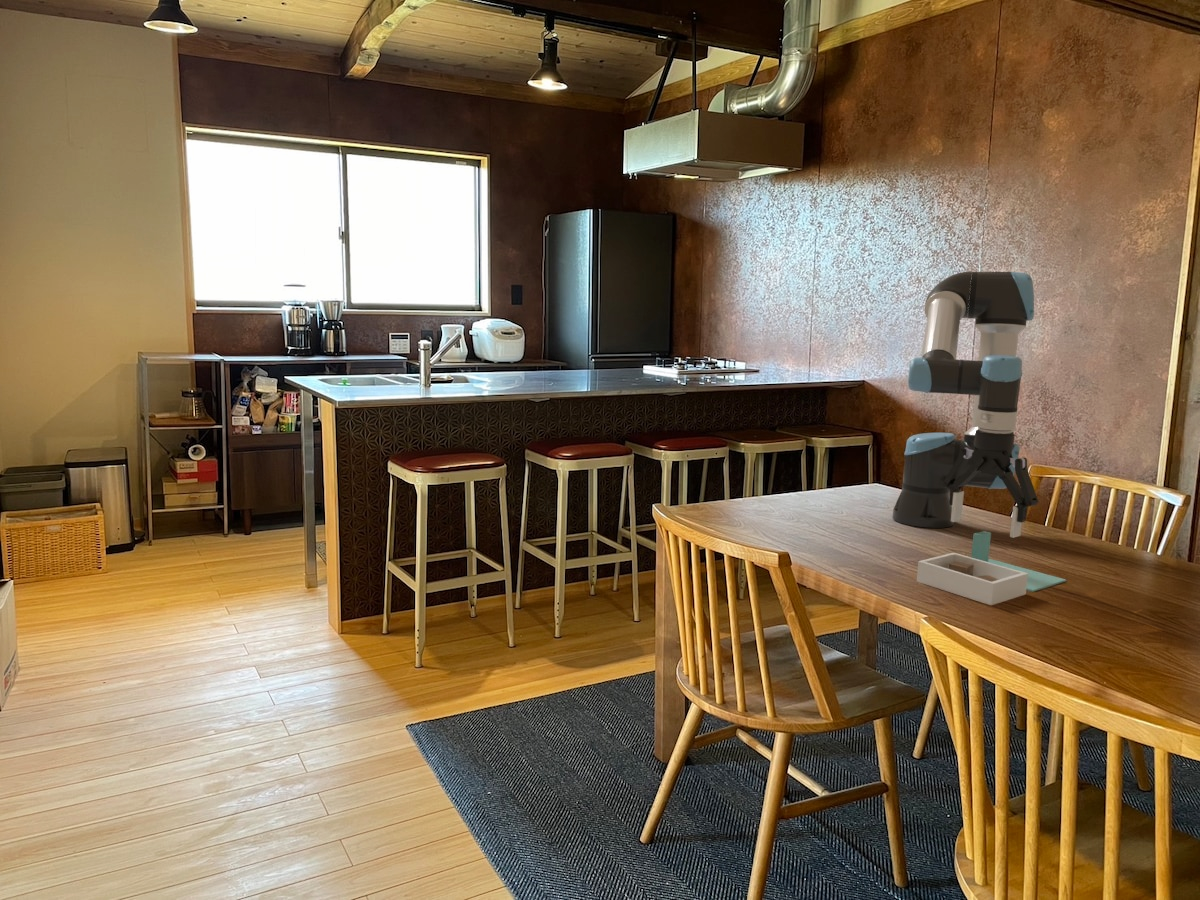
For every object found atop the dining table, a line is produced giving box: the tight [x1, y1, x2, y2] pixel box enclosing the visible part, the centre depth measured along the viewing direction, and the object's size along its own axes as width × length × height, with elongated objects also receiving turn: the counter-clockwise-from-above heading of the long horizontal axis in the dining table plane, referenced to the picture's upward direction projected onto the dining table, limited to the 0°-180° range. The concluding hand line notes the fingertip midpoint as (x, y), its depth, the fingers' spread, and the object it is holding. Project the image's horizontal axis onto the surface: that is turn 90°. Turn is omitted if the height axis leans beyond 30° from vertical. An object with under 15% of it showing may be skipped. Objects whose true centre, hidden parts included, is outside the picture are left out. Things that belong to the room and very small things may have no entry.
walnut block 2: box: [974, 575, 999, 582], centre depth 165 cm, size 4×4×4 cm
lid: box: [970, 530, 1067, 592], centre depth 179 cm, size 13×17×8 cm
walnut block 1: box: [949, 561, 974, 576], centre depth 174 cm, size 4×4×4 cm
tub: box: [916, 552, 1028, 606], centre depth 170 cm, size 12×16×5 cm
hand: (984, 528), depth 184 cm, fingers open, 13 cm apart
